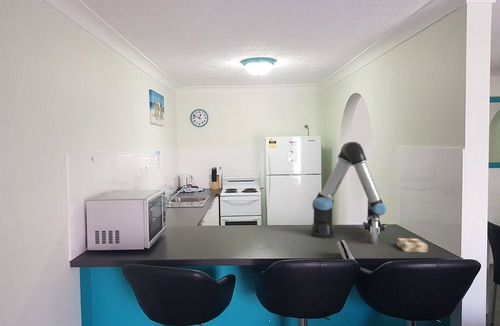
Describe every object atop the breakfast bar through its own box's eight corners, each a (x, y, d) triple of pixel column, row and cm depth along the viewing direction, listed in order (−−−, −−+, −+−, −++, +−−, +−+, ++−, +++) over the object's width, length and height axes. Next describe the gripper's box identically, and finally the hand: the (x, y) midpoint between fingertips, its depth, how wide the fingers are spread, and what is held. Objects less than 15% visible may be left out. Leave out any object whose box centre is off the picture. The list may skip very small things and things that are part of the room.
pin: (371, 244, 189) (372, 218, 188) (369, 242, 194) (369, 217, 193) (379, 244, 189) (380, 219, 188) (377, 242, 193) (377, 217, 193)
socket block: (404, 251, 176) (405, 244, 176) (396, 244, 188) (396, 238, 188) (427, 252, 175) (427, 244, 175) (417, 245, 187) (418, 238, 187)
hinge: (356, 264, 155) (349, 245, 155) (347, 267, 156) (340, 248, 156) (350, 253, 172) (344, 236, 172) (341, 256, 172) (335, 238, 172)
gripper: (387, 229, 205) (390, 239, 183) (360, 227, 211) (359, 236, 189) (387, 217, 205) (390, 226, 183) (360, 215, 210) (360, 223, 188)
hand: (375, 231), depth 186 cm, fingers closed on pin, 3 cm apart
